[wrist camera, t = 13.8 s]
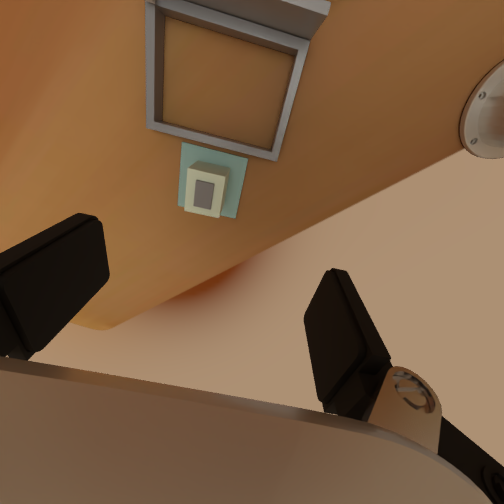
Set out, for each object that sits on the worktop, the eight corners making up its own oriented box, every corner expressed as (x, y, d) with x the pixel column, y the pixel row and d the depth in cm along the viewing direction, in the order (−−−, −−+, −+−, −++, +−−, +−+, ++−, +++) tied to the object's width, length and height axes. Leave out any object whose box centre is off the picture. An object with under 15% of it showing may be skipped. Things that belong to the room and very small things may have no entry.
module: (230, 167, 35) (225, 177, 29) (224, 204, 38) (218, 219, 32) (197, 160, 34) (186, 168, 29) (194, 197, 37) (183, 211, 32)
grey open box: (310, 29, 27) (335, -12, 18) (275, 158, 34) (281, 172, 26) (156, -21, 25) (103, -93, 16) (155, 127, 32) (118, 130, 24)
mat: (248, 158, 34) (248, 158, 34) (235, 217, 39) (235, 218, 39) (182, 141, 33) (181, 141, 33) (178, 204, 38) (177, 205, 38)
